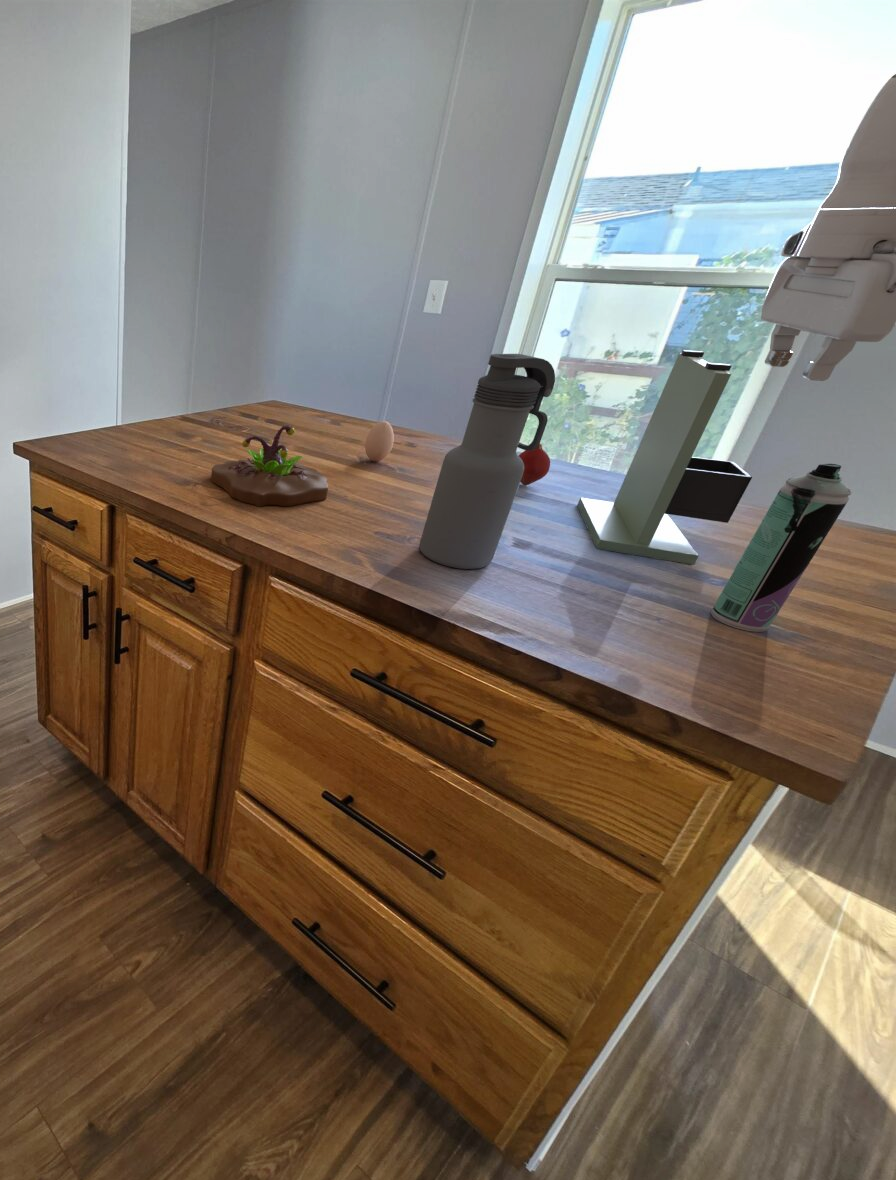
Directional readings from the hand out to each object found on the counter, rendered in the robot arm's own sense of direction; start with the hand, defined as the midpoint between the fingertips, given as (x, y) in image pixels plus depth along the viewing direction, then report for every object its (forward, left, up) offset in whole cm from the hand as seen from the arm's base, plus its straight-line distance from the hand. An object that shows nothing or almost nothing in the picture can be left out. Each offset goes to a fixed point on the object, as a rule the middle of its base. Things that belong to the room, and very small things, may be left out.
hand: (793, 372), depth 78 cm
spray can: (-2, +12, -28) cm, 30 cm away
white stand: (+2, -15, -28) cm, 31 cm away
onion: (+18, -33, -28) cm, 46 cm away
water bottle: (+30, +8, -28) cm, 41 cm away
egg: (+45, -35, -28) cm, 63 cm away
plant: (+61, -9, -28) cm, 67 cm away
